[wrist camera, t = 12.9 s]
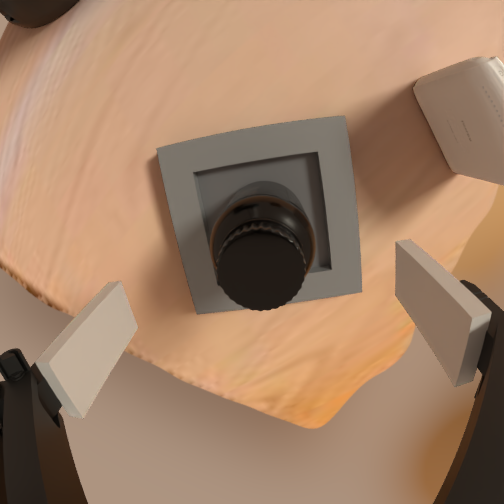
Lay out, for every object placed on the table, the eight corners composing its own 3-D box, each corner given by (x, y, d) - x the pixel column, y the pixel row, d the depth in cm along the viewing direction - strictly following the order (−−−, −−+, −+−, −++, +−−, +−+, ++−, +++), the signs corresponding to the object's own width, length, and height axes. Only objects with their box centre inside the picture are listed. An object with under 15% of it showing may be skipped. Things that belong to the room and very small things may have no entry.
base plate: (201, 303, 32) (196, 314, 30) (164, 147, 27) (156, 148, 25) (356, 282, 30) (362, 292, 28) (339, 117, 25) (344, 115, 23)
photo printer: (403, 84, 24) (477, 58, 12) (434, 69, 23) (512, 44, 11) (449, 178, 26) (530, 205, 15) (476, 160, 25) (559, 179, 14)
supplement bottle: (223, 250, 29) (195, 319, 18) (229, 176, 27) (199, 201, 15) (298, 258, 29) (313, 332, 18) (308, 184, 27) (336, 216, 15)
